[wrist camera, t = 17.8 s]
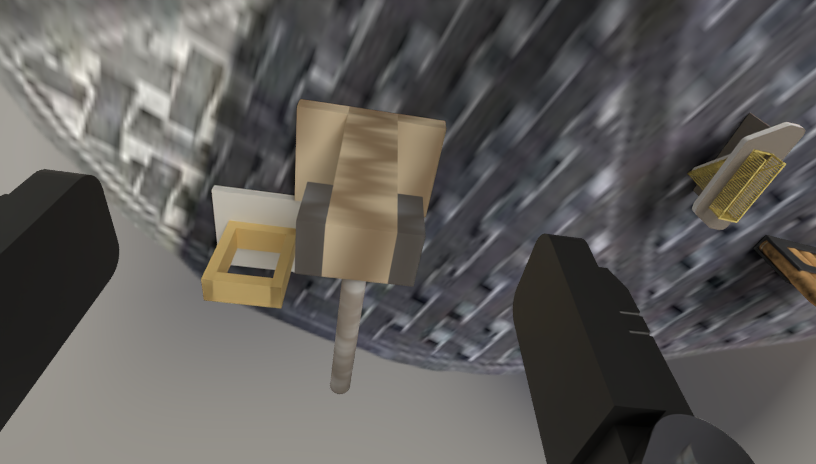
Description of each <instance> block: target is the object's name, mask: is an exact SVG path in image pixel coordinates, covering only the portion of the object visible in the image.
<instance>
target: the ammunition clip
mask: <svg viewBox="0 0 816 464" xmlns="http://www.w3.org/2000/svg"><path fill="white" fill-rule="evenodd" d="M753 249H754V250H755V251H756V252H757V253H758V254H759V255H760V256H761V257H762V258H763V259H764V260H765V261H766V262H767V263H768V264H769V265H770V266H771V267H772V268H773V269H774V270H775V271H776V272H777V273H778V274H779V275H780V276H781V277H782V279H783V280H784V281H785V282H786V283H790V284H793V285H794V286H795V287H796V288H797V289H798V290H799V291H800V293H801V294H802V295H803V296H804V297H805V298H806V299H807V300H808V301H809V302H810V303H812V304H813V305H815V306H816V248H815V247H811V246H807V245H804V244H800V243H796V242H792V241H788V240H784V239H780V238H776V237H773V236H769V235H766V236H765V237H764V238H763V239H762V240H761V241H760V242H759V243H758V244H757V245H756V246H755V247H754V248H753Z"/></svg>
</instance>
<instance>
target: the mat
mask: <svg viewBox="0 0 816 464" xmlns="http://www.w3.org/2000/svg"><path fill="white" fill-rule="evenodd" d="M212 199H213V208H214V218H215V227H216V236H217V245H218V243H219V241H220V239H221V236H222V234H223V232H224V230H225V228H226V226H227V224H228V222H229V220H231V221H239V222H247V223H255V224H263V225H271V226H279V227H287V228H295V229H296V219H297V215H298V212H299V208H300V205H301V201H295V195H287V194H279V193H271V192H263V191H256V190H248V189H240V188H232V187H224V186H216V185H214V187H213V188H212ZM279 256H280V253H273V252H265V251H256V250H248V249H239V248H237V251H236V253H235V255H234V258H233V260H232V262H231V265H235V266H244V267H254V268H263V269H272V270H275V269H276V266H277V263H278V260H279ZM291 272H295V258H294V262H293V266H292V269H291Z"/></svg>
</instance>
